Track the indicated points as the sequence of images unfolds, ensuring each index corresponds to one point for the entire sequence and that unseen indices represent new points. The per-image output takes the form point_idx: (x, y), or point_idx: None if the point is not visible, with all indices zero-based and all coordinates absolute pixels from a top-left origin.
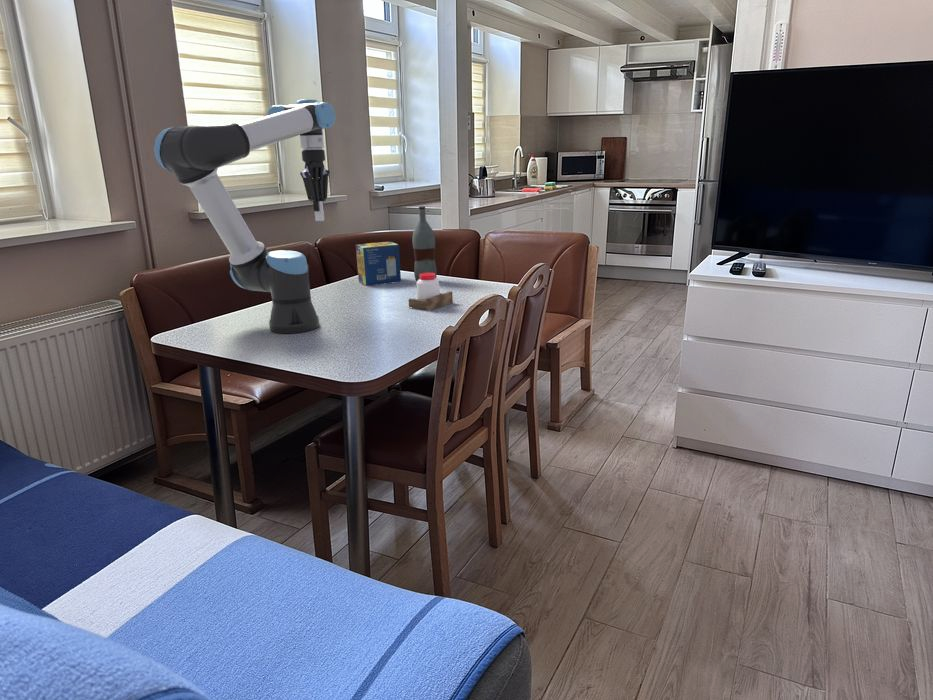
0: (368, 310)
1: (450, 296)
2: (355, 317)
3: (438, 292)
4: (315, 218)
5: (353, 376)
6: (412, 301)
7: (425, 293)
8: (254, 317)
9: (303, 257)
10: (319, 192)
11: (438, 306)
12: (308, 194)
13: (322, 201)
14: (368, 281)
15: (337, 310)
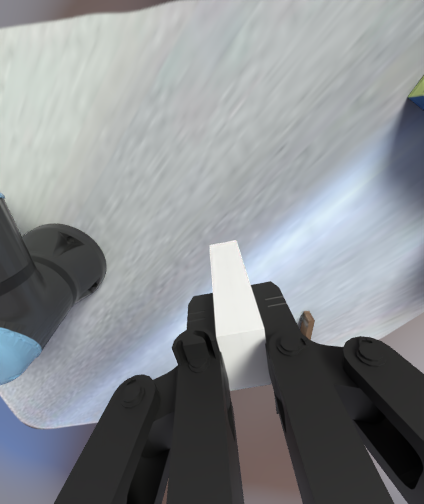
0: (210, 277)
1: None
2: (166, 291)
3: None
4: (210, 253)
5: (32, 417)
6: None
7: None
8: (33, 124)
9: (7, 382)
10: (298, 482)
11: None
12: (89, 475)
13: (268, 383)
14: (421, 101)
15: (181, 234)
